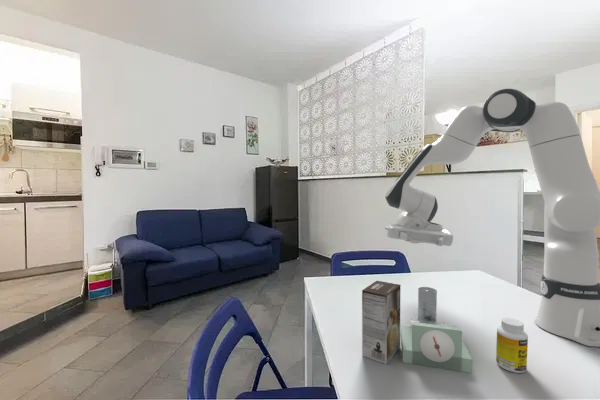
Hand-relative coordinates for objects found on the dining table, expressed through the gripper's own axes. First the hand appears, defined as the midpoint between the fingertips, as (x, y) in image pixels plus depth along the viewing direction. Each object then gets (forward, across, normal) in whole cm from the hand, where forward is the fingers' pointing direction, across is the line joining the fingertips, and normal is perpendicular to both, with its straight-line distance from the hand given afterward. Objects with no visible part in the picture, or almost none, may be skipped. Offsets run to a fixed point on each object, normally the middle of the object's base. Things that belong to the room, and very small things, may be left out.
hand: (424, 241), depth 89 cm
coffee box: (+24, -12, +23) cm, 36 cm away
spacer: (+13, +1, +22) cm, 26 cm away
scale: (+23, 0, +21) cm, 31 cm away
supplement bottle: (+26, +15, +19) cm, 36 cm away
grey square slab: (+21, 0, +18) cm, 28 cm away
